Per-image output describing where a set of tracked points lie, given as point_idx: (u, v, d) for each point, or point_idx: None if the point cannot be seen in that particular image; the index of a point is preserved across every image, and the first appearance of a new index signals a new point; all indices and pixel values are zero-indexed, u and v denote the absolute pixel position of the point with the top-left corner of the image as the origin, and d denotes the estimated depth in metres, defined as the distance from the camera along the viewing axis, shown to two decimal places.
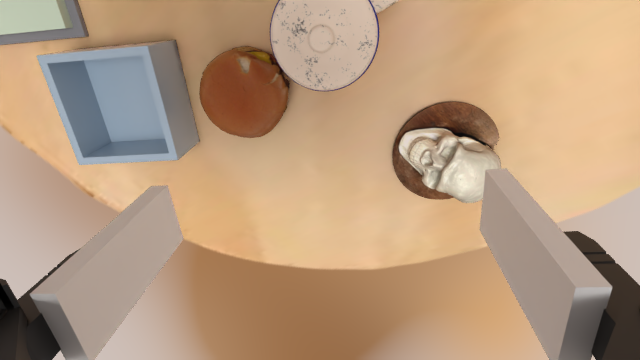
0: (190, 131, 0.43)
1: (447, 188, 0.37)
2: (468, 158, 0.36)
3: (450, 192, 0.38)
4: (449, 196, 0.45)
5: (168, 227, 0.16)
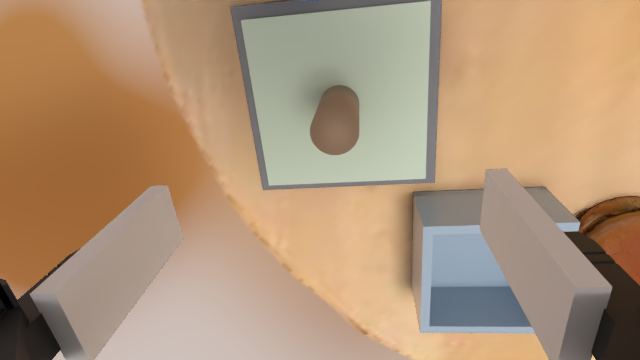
0: None
1: None
2: None
3: None
4: None
5: (168, 227, 0.16)
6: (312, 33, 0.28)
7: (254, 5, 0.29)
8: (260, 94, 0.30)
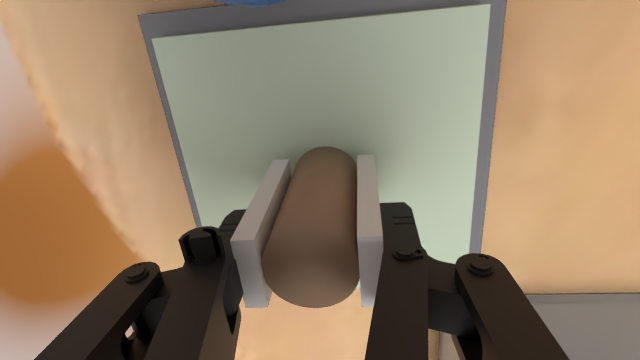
0: None
1: None
2: None
3: None
4: None
5: None
6: (276, 61, 0.16)
7: (177, 12, 0.17)
8: (196, 159, 0.18)
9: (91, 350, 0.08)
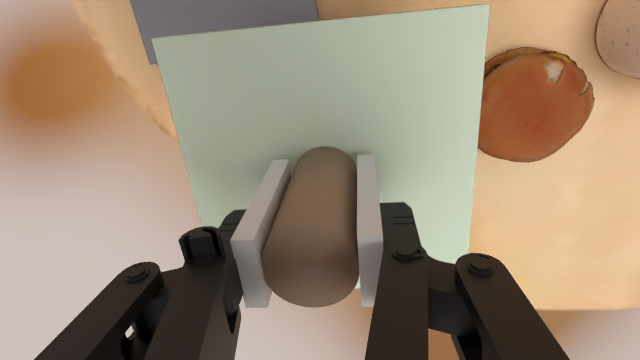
0: None
1: None
2: None
3: None
4: None
5: None
6: (276, 61, 0.16)
7: None
8: (195, 159, 0.18)
9: (91, 350, 0.08)
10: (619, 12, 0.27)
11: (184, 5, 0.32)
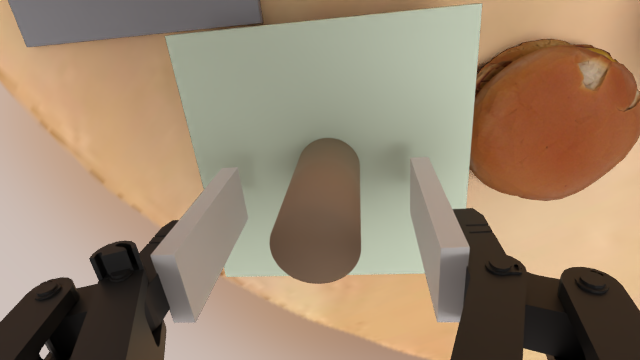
0: None
1: None
2: None
3: None
4: None
5: (239, 206, 0.17)
6: (282, 57, 0.17)
7: None
8: (205, 150, 0.19)
9: None
10: None
11: None
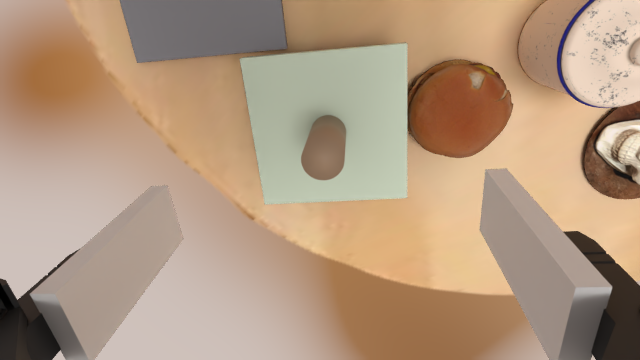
0: None
1: None
2: None
3: None
4: None
5: (168, 227, 0.16)
6: (303, 70, 0.32)
7: None
8: (257, 123, 0.34)
9: None
10: (532, 32, 0.33)
11: (169, 12, 0.37)
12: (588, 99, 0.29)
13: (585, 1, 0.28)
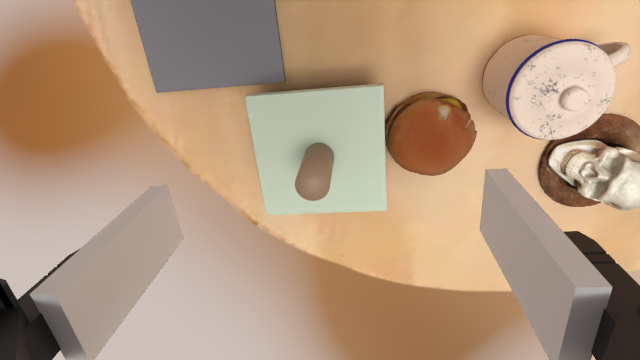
0: None
1: (614, 198, 0.39)
2: (638, 169, 0.38)
3: (617, 201, 0.39)
4: (591, 203, 0.47)
5: (168, 227, 0.16)
6: (297, 106, 0.38)
7: None
8: (259, 148, 0.40)
9: None
10: (491, 72, 0.39)
11: (184, 51, 0.43)
12: (532, 133, 0.35)
13: (528, 54, 0.34)
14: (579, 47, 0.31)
